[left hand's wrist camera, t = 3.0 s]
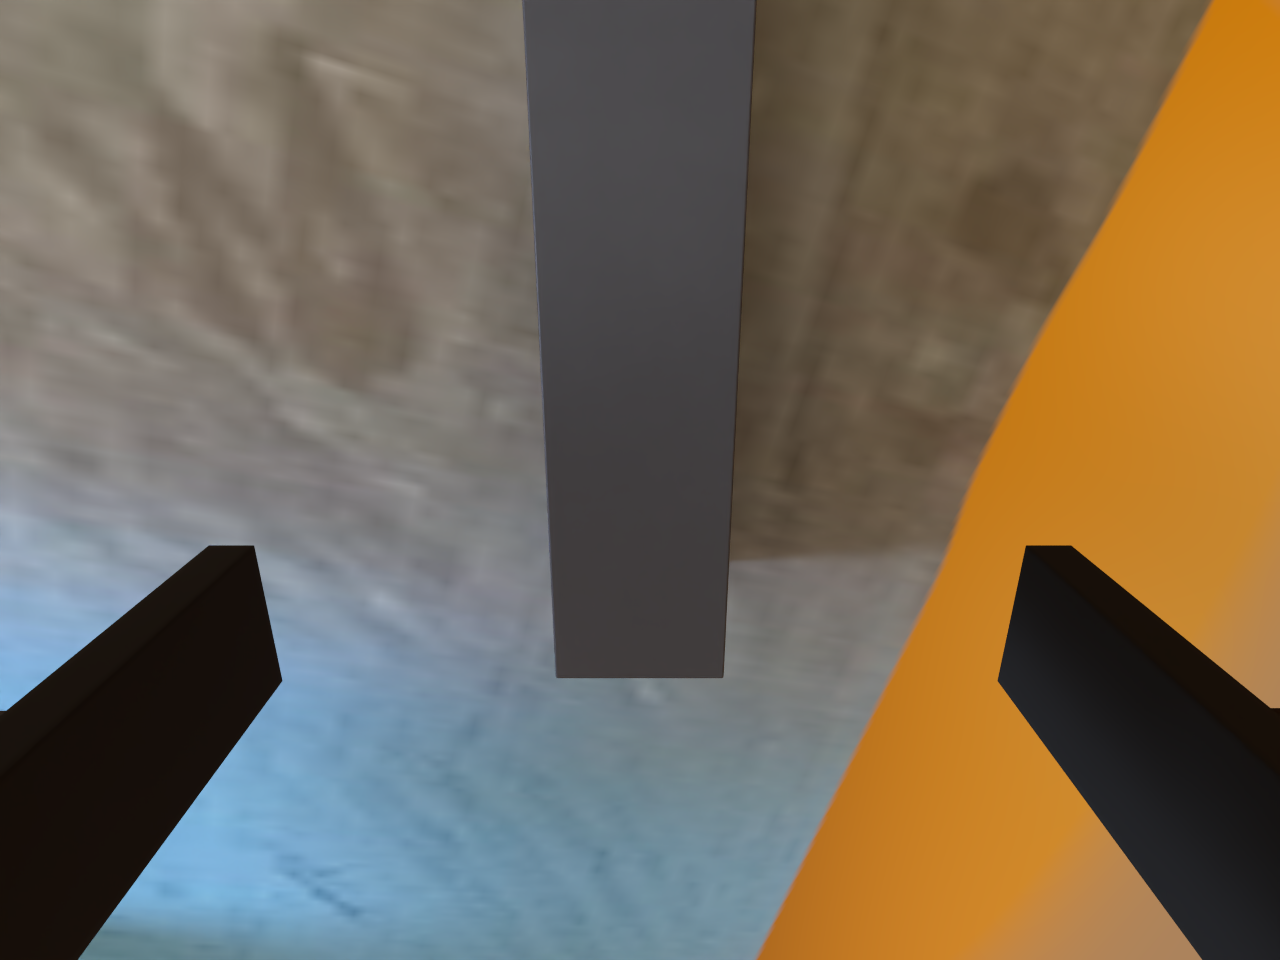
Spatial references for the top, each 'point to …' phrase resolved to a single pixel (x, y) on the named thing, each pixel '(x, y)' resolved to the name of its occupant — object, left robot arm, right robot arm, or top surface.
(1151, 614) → the left robot arm
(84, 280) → the top surface
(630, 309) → the post
